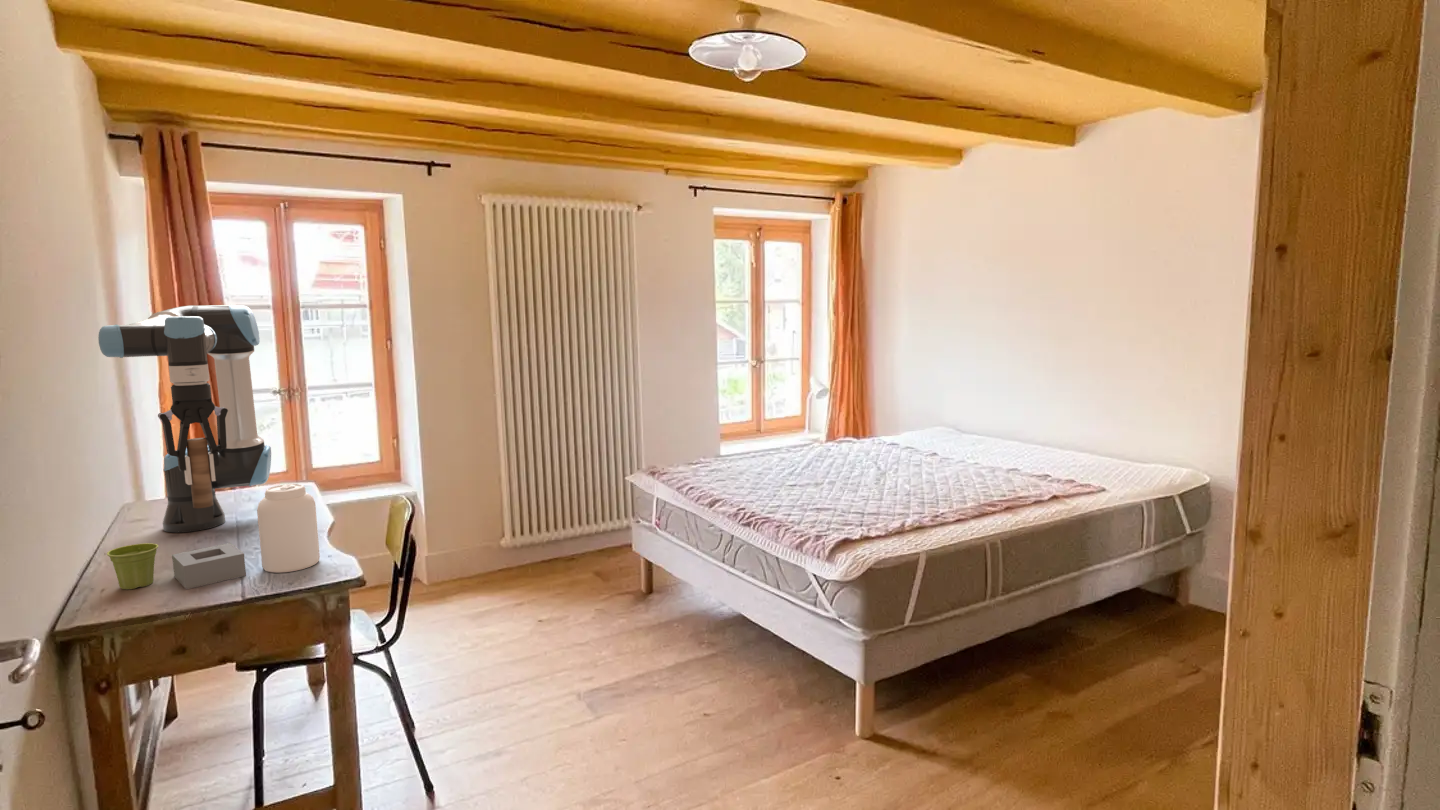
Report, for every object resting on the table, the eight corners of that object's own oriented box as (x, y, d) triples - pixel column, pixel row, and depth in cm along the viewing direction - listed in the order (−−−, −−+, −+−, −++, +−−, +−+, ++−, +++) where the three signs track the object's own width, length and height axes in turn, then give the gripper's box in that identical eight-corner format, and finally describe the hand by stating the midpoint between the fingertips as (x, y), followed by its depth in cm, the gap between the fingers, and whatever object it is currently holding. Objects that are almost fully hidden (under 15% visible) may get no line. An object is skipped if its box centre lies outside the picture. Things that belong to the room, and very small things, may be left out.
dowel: (191, 506, 178) (184, 439, 176) (211, 502, 181) (204, 437, 179) (195, 509, 176) (188, 441, 173) (215, 505, 178) (208, 439, 176)
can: (282, 556, 194) (275, 480, 192) (330, 556, 194) (324, 480, 191) (251, 574, 182) (243, 493, 179) (301, 574, 181) (294, 492, 179)
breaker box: (174, 576, 180) (171, 554, 180) (232, 564, 189) (230, 542, 188) (186, 589, 172) (183, 566, 171) (246, 575, 181) (243, 553, 180)
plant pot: (129, 578, 179) (125, 543, 178) (171, 577, 180) (167, 542, 179) (100, 593, 170) (96, 556, 169) (145, 591, 171) (140, 554, 170)
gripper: (148, 387, 166) (160, 491, 169) (237, 381, 178) (246, 478, 181) (141, 385, 171) (153, 485, 174) (228, 379, 183) (237, 473, 186)
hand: (200, 481), depth 178 cm, fingers closed on dowel, 4 cm apart
